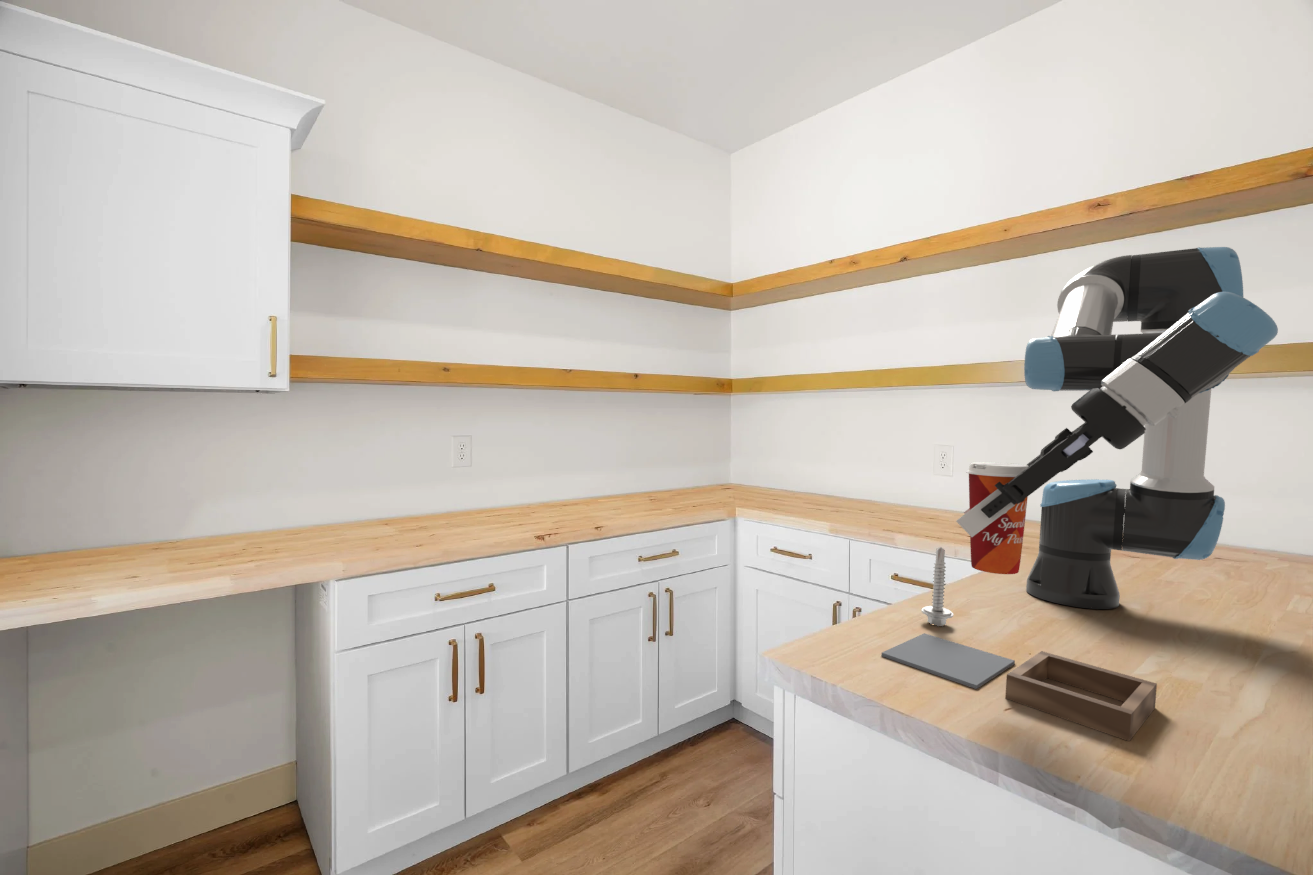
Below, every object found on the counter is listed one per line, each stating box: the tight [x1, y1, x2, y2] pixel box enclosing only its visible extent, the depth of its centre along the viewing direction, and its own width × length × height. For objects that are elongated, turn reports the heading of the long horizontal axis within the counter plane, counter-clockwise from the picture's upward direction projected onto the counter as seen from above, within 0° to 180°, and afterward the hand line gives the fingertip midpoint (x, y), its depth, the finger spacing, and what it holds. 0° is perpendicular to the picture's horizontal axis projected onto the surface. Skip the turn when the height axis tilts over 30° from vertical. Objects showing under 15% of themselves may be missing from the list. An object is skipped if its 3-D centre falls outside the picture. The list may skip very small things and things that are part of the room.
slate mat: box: [881, 632, 1016, 690], centre depth 87 cm, size 13×13×1 cm
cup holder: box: [1004, 650, 1158, 742], centre depth 75 cm, size 12×12×3 cm
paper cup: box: [965, 461, 1029, 575], centre depth 81 cm, size 8×8×14 cm
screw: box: [921, 546, 954, 627], centre depth 102 cm, size 13×5×5 cm
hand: (967, 523), depth 83 cm, fingers closed on paper cup, 8 cm apart
